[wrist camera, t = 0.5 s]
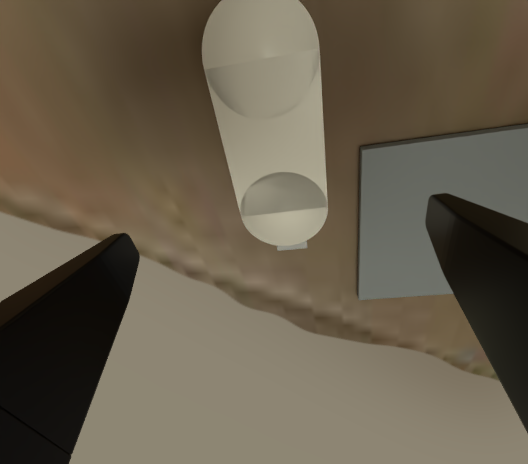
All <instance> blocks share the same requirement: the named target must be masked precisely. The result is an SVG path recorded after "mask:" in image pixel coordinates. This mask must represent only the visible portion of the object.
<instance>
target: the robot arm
mask: <svg viewBox="0 0 528 464" xmlns="http://www.w3.org/2000/svg"><path fill="white" fill-rule="evenodd" d="M425 225H426V229H427V232H428V235H429V237H430V240H431V243H432V245H433V248H434V251H435V253H436V256H437V259H438V261H439V264H440V267H441V269H442V272H443V274H444V276H445V278H446V280H447V282H448V284H449V286H450V288H451V290H452V291H453V293H454V295H455V297H456V299H457V301H458V303H459V305H460V307H461V308H462V310H463V312H464V314H465V316H466V318H467V320H468V322H469V323H470V325H471V327H472V329H473V331H474V333H475V335H476V337H477V339H478V340H479V342H480V344H481V346H482V348H483V350H484V352H485V354H486V356H487V357H488V359H489V361H490V363H491V365H492V367H493V369H494V371H495V373H496V374H497V376H498V378H499V380H500V382H501V384H502V386H503V388H504V389H505V391H506V393H507V395H508V397H509V399H510V401H511V403H512V405H513V406H514V408H515V410H516V412H517V414H518V416H519V418H520V419H521V421H522V423H523V425H524V427H525V429H526V431H527V433H528V223H526V222H524V221H521V220H518V219H516V218H513V217H510V216H507V215H505V214H502V213H499V212H497V211H494V210H491V209H489V208H486V207H483V206H481V205H478V204H475V203H473V202H470V201H467V200H465V199H462V198H459V197H457V196H454V195H451V194H449V193H441V194H434V195H431V196H430V197H429V200H428V205H427V212H426V219H425ZM138 264H139V252H138V250H137V249H136V247H135V245H134V243H133V241H132V240H131V238H130V236H129V235H128V234H126V233H120V234H114V235H112V236H110V237H108V238H107V239H105V240H103V241H101V242H100V243H98V244H96V245H95V246H93V247H92V248H90V249H88V250H86V251H85V252H83V253H82V254H80V255H78V256H76V257H75V258H73V259H71V260H70V261H68V262H66V263H65V264H63V265H61V266H60V267H58V268H56V269H55V270H53V271H51V272H50V273H48V274H46V275H45V276H43V277H41V278H40V279H38V280H36V281H35V282H33V283H31V284H30V285H28V286H26V287H24V288H23V289H21V290H19V291H18V292H16V293H15V294H13V295H11V296H9V297H8V298H6V299H4V300H3V301H1V302H0V464H69V461H70V459H71V454H72V453H73V450H74V447H75V445H76V442H77V439H78V437H79V434H80V431H81V428H82V426H83V423H84V421H85V418H86V415H87V413H88V410H89V407H90V404H91V402H92V399H93V396H94V394H95V391H96V388H97V386H98V383H99V380H100V377H101V375H102V372H103V370H104V367H105V364H106V361H107V359H108V356H109V353H110V351H111V348H112V345H113V343H114V340H115V337H116V335H117V332H118V329H119V326H120V324H121V321H122V318H123V315H124V313H125V310H126V308H127V305H128V302H129V299H130V295H131V291H132V287H133V283H134V279H135V275H136V272H137V268H138Z"/></svg>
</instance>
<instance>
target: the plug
mask: <svg viewBox="0 0 528 464" xmlns="http://www.w3.org/2000/svg"><path fill="white" fill-rule="evenodd" d="M202 61H203V67H204V71H205V75H206V79H207V83H208V87H209V91H210V95H211V99H212V103H213V107H214V111H215V115H216V119H217V123H218V127H219V131H220V135H221V139H222V143H223V147H224V151H225V155H226V159H227V163H228V167H229V171H230V175H231V178H232V182H233V186H234V190H235V194H236V198H237V202H238V206H239V210H240V214H241V218H242V221H243V223H244V225H245V227H246V228H247V230H248V231H249V232H250V233H251V234H252V235H253V236H255V237H256V238H258V239H259V240H261V241H263V242H266V243H268V244H272V245H277V250H278V251H280V250H290V249H301V248H307V240H308V239H310V238H311V237H313V236H314V235H315V234H317V232H318V231H319V230H320V229H321V228H322V226H323V225H324V223H325V220H326V217H327V213H328V202H327V183H326V164H325V144H324V125H323V106H322V86H321V67H320V48H319V39H318V35H317V30H316V28H315V25H314V22H313V20H312V18H311V16H310V14H309V13H308V11H307V10H306V8H305V7H304V5H303V4H302V3H301V2H300V1H299V0H221V1H220V2H219V4H218V5H217V6H216V7H215V9H214V10H213V12H212V14H211V15H210V17H209V19H208V22H207V24H206V27H205V31H204V34H203V41H202Z"/></svg>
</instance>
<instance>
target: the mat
mask: <svg viewBox="0 0 528 464" xmlns="http://www.w3.org/2000/svg"><path fill="white" fill-rule="evenodd" d="M441 193H449V194H451V195H454V196H457V197H459V198H462V199H465V200H467V201H470V202H473V203H475V204H478V205H481V206H483V207H486V208H489V209H491V210H494V211H497V212H499V213H502V214H505V215H507V216H510V217H513V218H516V219H518V220H521V221H524V222H526V223H528V124H522V125H515V126H507V127H500V128H493V129H486V130H478V131H471V132H464V133H456V134H449V135H442V136H434V137H427V138H420V139H413V140H405V141H398V142H391V143H383V144H376V145H369V146H362V147H360V182H359V235H358V289H357V295H358V299H359V300H367V299H381V298H396V297H410V296H425V295H440V294H454V293H453V291H452V290H451V288H450V286H449V284H448V282H447V280H446V278H445V276H444V274H443V272H442V269H441V267H440V264H439V261H438V259H437V256H436V253H435V251H434V248H433V245H432V243H431V240H430V237H429V235H428V232H427V229H426V225H425V219H426V212H427V205H428V200H429V197H430V196H431V195H434V194H441Z"/></svg>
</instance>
